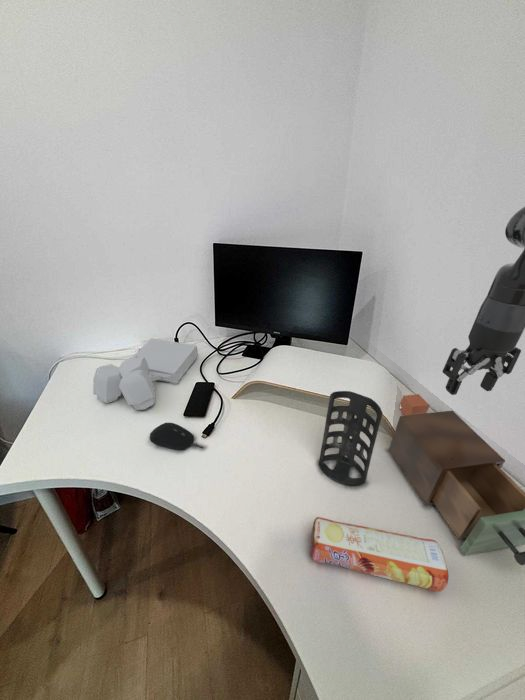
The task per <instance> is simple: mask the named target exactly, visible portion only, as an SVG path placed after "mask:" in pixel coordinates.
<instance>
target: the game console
mask: <svg viewBox="0 0 525 700" xmlns="http://www.w3.org/2000/svg"><path fill="white" fill-rule="evenodd" d="M198 356H199V349H198V345H196V344H191V343H184V342H179V341H178V342H177V341H172V340H165V339H158V338H150V339H149V340H148V341H147V342H146V343H145V344H144V345H143V346H142V347H141V348H140V349H139V350H138V351H137V352H136V353H134V354H133V356H130V357H129V358H126V359H125V360H123V361H122V362H121V363H120V365H119V366H117V365H114V364H112V363H110V364H105V365H101V366H99V367H97V368H96V370H95V372H94V375H93V384H92V385H93V388H92V390H93V391H92V394H93V395H94V396H96V398H97V400H99V401H101V402H103V403H105V404H109V403H111V402H115V401H118V399H119V397H121V396H123V397H124V399H125V401H126V404H127V405H129V406H131V405H132V407H133V408H134V410H136V411H144V410H147V409H148V408H149V407H152V406H153V405H155V403H156V387H155V385H154V383H153V382H155V381H161V382H166V383H171V384H176V385H177V384H179V381H181V379H182V378H183V377H184V375H185V374H186V372H188V370H189V369H190V367H191V366H192V364H194V362H195V360H196V359H197V358H198Z"/></svg>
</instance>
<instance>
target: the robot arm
mask: <svg viewBox="0 0 525 700" xmlns="http://www.w3.org/2000/svg"><path fill="white" fill-rule="evenodd" d="M504 229H505V230H504V235H505V238H506V240H507V241H508V242H509V244H512V245H513V246H515V247H517V248H521V249H523V250H522V252H521V253H520V255H519V256H518V257H517V259H516V260H515V262H512V263H506V264H504V265H502V266H501V267H499V268H498V270H497V272H496V273H495V276H494V278H493V280H492V283H491V285H490V287H489V290H488V292H487V294H486V296H485V298H484V300H483V302H482V303H481V305H480V307H479V309H478V312H477V314H476V317H475V320H474V322H473V324H472V327H471V329H470V332H469V334H468V337H467V338H468V342H469V345H467V347H466V349H463V350H460V349H458V347H454V348H452V349H451V351H450V353H449V356H448V358H447V360H446V361H445V364H444V367H443V369H442V374H444V375H445V376H446V377H448V380H447V383H446V385H445V389H446V391H447V392H448V393H449V394H450V395H451V396H455V395H457V394H458V391H459V389H460V387H461V385H462V383H463V380H464V379H465V378H466V377H468V376H471V375H474V374H475V373H476V372H477V371H481V370H487V371H486V372H485V374H484V376H483V377H482V380H481V382H480V385H479V386H480V387H481V388H482V389H483V390H484V391H486V392H491V391H492V390H493V389H494V387H495V385H496V383H497V382H498V380H499V378H501V377H503V375H505V374H506V375H509V374H511V373H512V371H513V370H514V368H515V366H516V363H517V361H518V359H519V357H520V354H521V353H522V349H520V348H518V347H517V345H518V343H519V341H520V339H521V337H522V335H523V333H524V331H525V206H522V207H521V208H520V209H519V210H517V211H516V212H515V213H514V214H513V215H512V216H511V217H510V219H509V220H508V222H507V223H506V226H505V228H504ZM465 364H467V365H468V366H469V367H467V366H466V365H465ZM505 364H507V365H505ZM460 371H462V372H461V373H459V372H460Z"/></svg>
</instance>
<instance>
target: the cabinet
mask: <svg viewBox="0 0 525 700" xmlns="http://www.w3.org/2000/svg"><path fill="white" fill-rule="evenodd" d="M389 445H390V446H389V448H388V453H390V455H391V457H392V458H393V460H394V461H395V463H396V464H397V466H398V467H399V469H400V470H401V472H402V473H403V475H404V476H405V477H406V479H407V481H408V483H409V484H410V486H411V487H412V489H413V490H414V491H415V493H416V495H417V496H418V498H419V499H420V500H421V502H422V504H423V505H424V506H427V507H428V506H433V505H435V504H434V503H433V501H432V500H431V499H432V497H433V495H434V493H435V491H436V489H437V487H438V485H439V483H440V481H441V479H442V476H443V474H444V472H445V471H451V470H459V469H466V468H473V467H480V466H488V465H495V464H496V465H497V466H499V467H500V468H501V469H502V467H503V465H504V464H505V462H506V459H505V458H503V457H502V455H500V454H499V453H498V452H497V451H496V450H495V449H494V448H493V447H492V446H491V445H490V444H488V443H487V442H486V441H485V440H484V439H483V437H481V435H479V434H478V433H477V432H476V431H475V430H474V429H473V428H472V427H471V426H469V424H467V423H466V421H464V420H463V419H462V418H461V417H460V416H459V415H458V414H457V413H456V412H455V411H454V410H444V411H436V412H427V413H425V414H415V415H406V416H404V415H400V416H399V418H398V421H397V424H396V428H395V430H394V433H393V436H392V439H391V442H390V444H389Z"/></svg>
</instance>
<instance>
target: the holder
mask: <svg viewBox="0 0 525 700" xmlns="http://www.w3.org/2000/svg"><path fill="white" fill-rule="evenodd" d="M336 399H349V403H348V405H334V403H335V400H336ZM367 407H370V408H371V409H372V410H373V411H374V412H375V414H376V419H374V418H373V417H372V416H371V415H370V414H369V413H368V412H367ZM326 412H327V413H326V416H325V423H324V424H325V425H324V429H323V430H324V431H323V435H322V436H323V437H322V442H321V449H320V454H319V458H318V467H319V469H320V470H321V471H322V473H324V474H325V476H327V477H328V478H329V479H331V480H332V481H334V482H337V483H339V484H342V485H344V486H345V485H346V486H350V487H358V486H363V485H365V484H366V481H367V478H368V473H369V468H370V464H371V460H372V455H373V451H374V448H375V444H376V439H377V436H378V433H379V429H380V425H381V421H382V417H383V415H384V413H383V410H382V409H381V406H380V405H379V404H378V403H377V401H376V400H374V399H372V398H371V397H368V396H365V395H363V394H359V393H357V392H354V391H350V390H338V391H333V392H331V393H330V394H329V400H328V407H327V411H326ZM335 412H336V413H337V418H332V416H333V413H335ZM344 413H346V418H345V417H344ZM355 416H356V418H355ZM365 420H366V423H365V425H364V424H363V423H364V421H365ZM333 425H343V426H344V427H343V430H333V431H330V427H331V426H333ZM371 427H372V430H373V431H372V433H371V430H370V429H371ZM361 433H363V434H364V435H365V436H366V437H367V439H368V440H369V445H368V444H367V443H366V441H364V440H363V438H361V436H360V435H361ZM339 437H341V441H340V442H338V440H339ZM329 438H332V439H333V440H332V442H331V443H328V439H329ZM358 445H359V446H360V447H359V449H358ZM330 449H338V453H330V454H325V453H326V451H327V450H330ZM364 452H365V453H366V457H365V455H364ZM355 456H356V457H357V458H359V460H360V461H361V462H362V464H363V466H364V467H363V468H362V466H361V465H360V464H359V463H358V462H357V461H356V460H355ZM328 461H337V462H336V464H335V466H334V468H333V469H331V468H330V467H329V466H327V464H326V463H325V462H328ZM351 467H353V468H354V469H355V470H356V471H357V472H358V473H359V475H360V477H351V476H350V472H351Z"/></svg>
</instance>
